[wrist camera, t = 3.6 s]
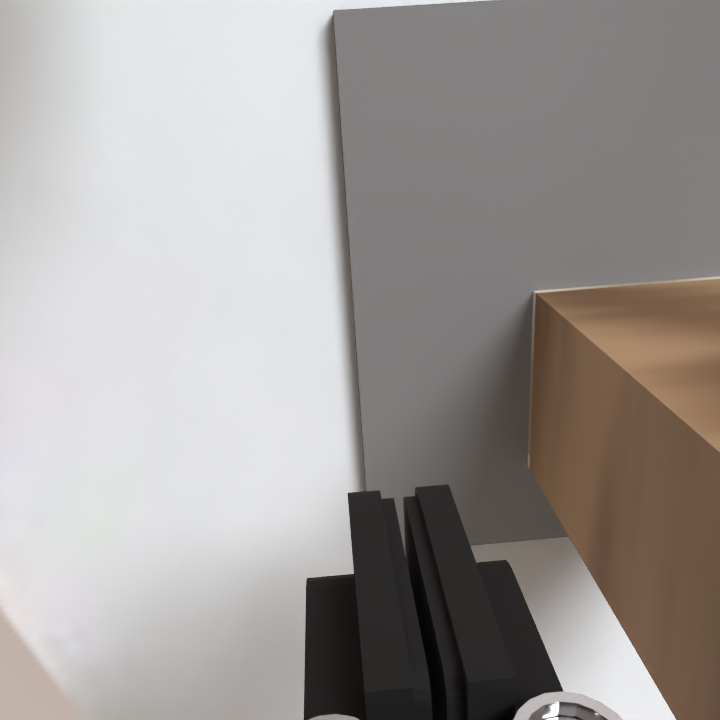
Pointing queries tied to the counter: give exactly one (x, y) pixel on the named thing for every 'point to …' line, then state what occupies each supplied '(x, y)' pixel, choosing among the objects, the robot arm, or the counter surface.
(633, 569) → the block
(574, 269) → the mat
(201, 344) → the counter surface
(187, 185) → the counter surface
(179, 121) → the counter surface
